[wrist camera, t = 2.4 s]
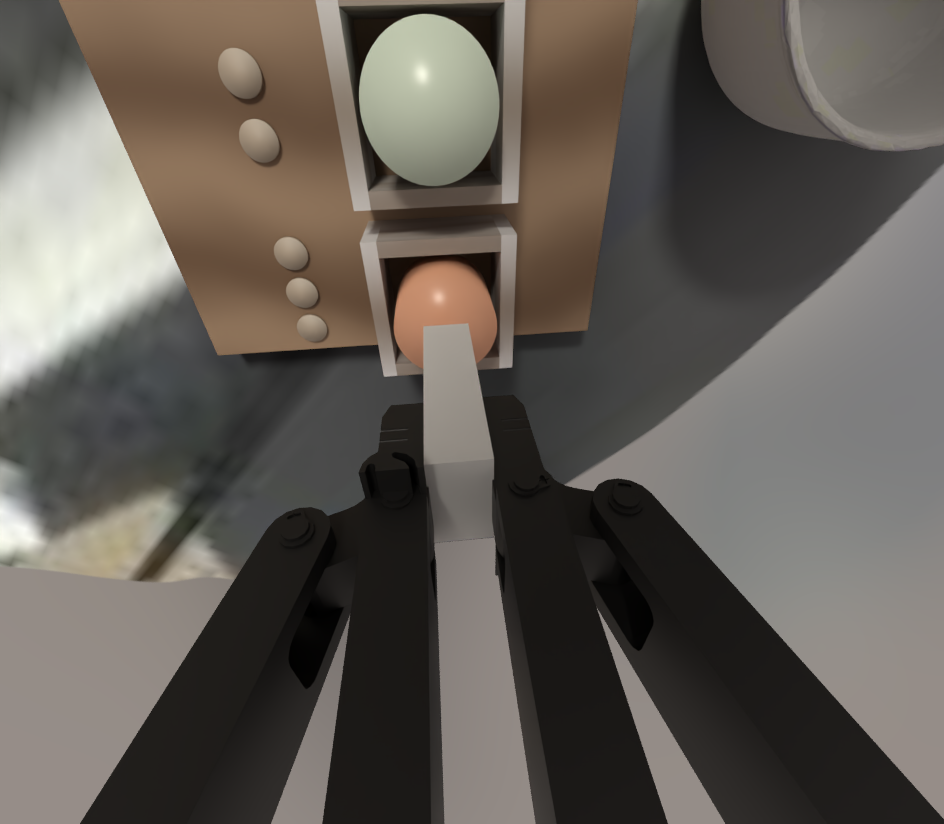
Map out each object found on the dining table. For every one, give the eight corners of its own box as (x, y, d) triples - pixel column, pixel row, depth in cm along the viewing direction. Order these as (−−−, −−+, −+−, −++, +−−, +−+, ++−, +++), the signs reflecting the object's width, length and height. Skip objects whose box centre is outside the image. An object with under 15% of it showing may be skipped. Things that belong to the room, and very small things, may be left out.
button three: (391, 255, 18) (386, 282, 15) (487, 250, 18) (497, 276, 15) (403, 342, 20) (400, 376, 18) (488, 336, 20) (496, 369, 18)
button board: (-67, -375, 11) (-352, -642, 7) (668, -359, 12) (790, -579, 8) (230, 338, 23) (191, 391, 19) (577, 315, 24) (608, 361, 20)
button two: (359, 27, 13) (345, 15, 11) (486, 24, 14) (500, 11, 11) (379, 172, 16) (372, 188, 13) (487, 168, 16) (498, 182, 14)
